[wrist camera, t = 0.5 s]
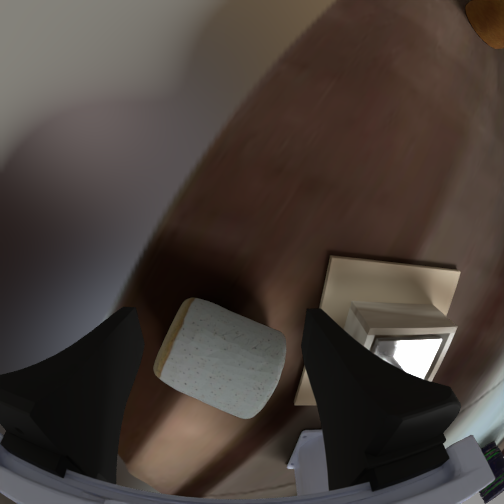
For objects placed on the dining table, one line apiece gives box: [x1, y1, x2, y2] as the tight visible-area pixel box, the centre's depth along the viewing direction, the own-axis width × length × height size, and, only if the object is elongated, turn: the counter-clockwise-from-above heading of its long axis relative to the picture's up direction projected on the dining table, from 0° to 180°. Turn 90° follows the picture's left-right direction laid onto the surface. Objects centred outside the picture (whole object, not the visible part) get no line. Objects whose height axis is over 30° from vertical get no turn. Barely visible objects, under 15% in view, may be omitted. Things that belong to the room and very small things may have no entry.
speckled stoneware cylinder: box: [154, 298, 286, 419], centre depth 21 cm, size 11×8×8 cm
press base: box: [294, 255, 461, 405], centre depth 22 cm, size 16×14×5 cm
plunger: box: [372, 336, 442, 379], centre depth 17 cm, size 7×7×6 cm
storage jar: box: [479, 442, 504, 504], centre depth 30 cm, size 10×10×15 cm
